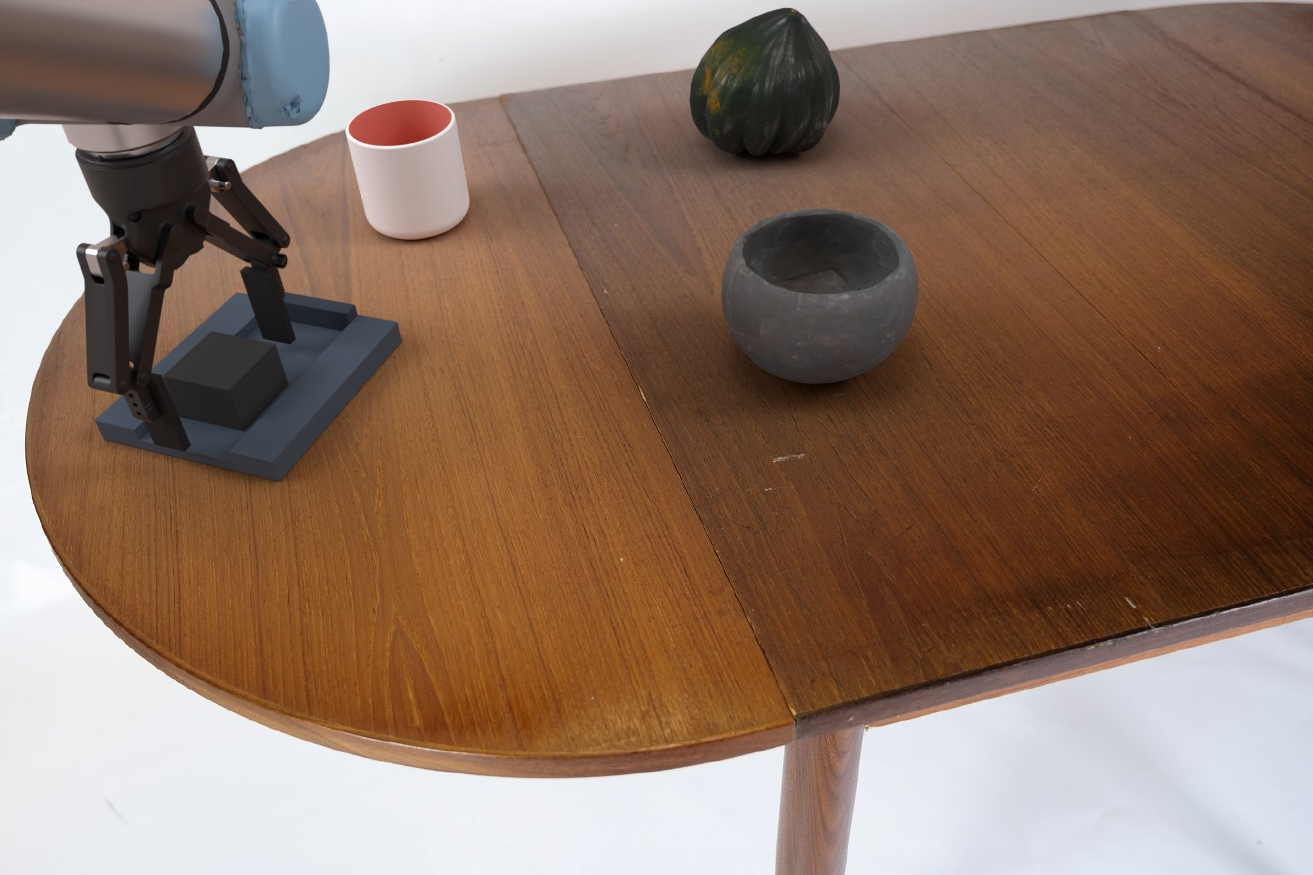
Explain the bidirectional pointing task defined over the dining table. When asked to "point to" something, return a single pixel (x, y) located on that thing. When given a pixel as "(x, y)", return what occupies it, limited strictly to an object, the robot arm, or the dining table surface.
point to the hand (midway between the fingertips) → (229, 389)
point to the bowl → (819, 294)
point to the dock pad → (319, 386)
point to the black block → (226, 380)
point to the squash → (766, 86)
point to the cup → (409, 168)
